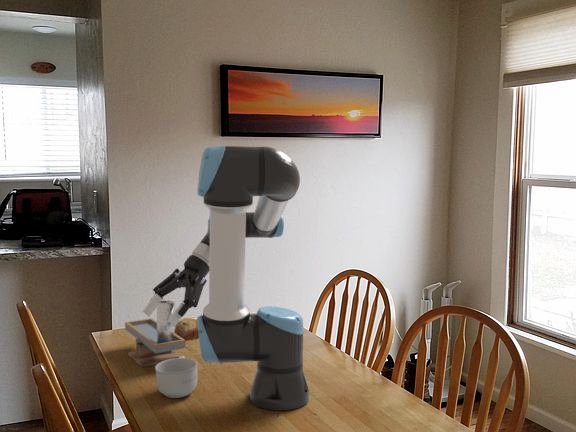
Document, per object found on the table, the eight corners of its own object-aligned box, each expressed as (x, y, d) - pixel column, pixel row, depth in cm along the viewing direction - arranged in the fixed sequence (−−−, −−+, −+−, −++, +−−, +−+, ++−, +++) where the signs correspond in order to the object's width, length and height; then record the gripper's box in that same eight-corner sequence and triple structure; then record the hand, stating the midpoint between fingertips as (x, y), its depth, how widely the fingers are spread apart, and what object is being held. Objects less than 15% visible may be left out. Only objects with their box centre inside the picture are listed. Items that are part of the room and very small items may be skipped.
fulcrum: (180, 359, 183) (180, 343, 182) (141, 367, 176) (141, 350, 176) (164, 348, 193) (164, 333, 192) (128, 355, 186) (127, 339, 186)
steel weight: (177, 344, 175) (177, 303, 174) (161, 346, 173) (160, 305, 171) (170, 339, 180) (170, 299, 178) (154, 342, 177) (154, 302, 175)
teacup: (188, 404, 151) (188, 373, 151) (148, 399, 154) (148, 369, 153) (207, 383, 165) (207, 354, 164) (169, 379, 167) (169, 351, 166)
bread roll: (177, 342, 211) (167, 322, 209) (203, 328, 213) (194, 308, 212) (181, 351, 202) (170, 331, 200) (208, 336, 204) (198, 316, 202)
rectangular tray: (188, 349, 176) (188, 339, 176) (152, 356, 170) (152, 345, 170) (155, 326, 198) (155, 317, 197) (122, 331, 192) (122, 322, 191)
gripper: (233, 275, 176) (190, 336, 167) (184, 263, 194) (143, 317, 185) (218, 259, 172) (174, 320, 163) (170, 248, 190) (128, 303, 181)
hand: (158, 319), depth 174 cm, fingers open, 13 cm apart
